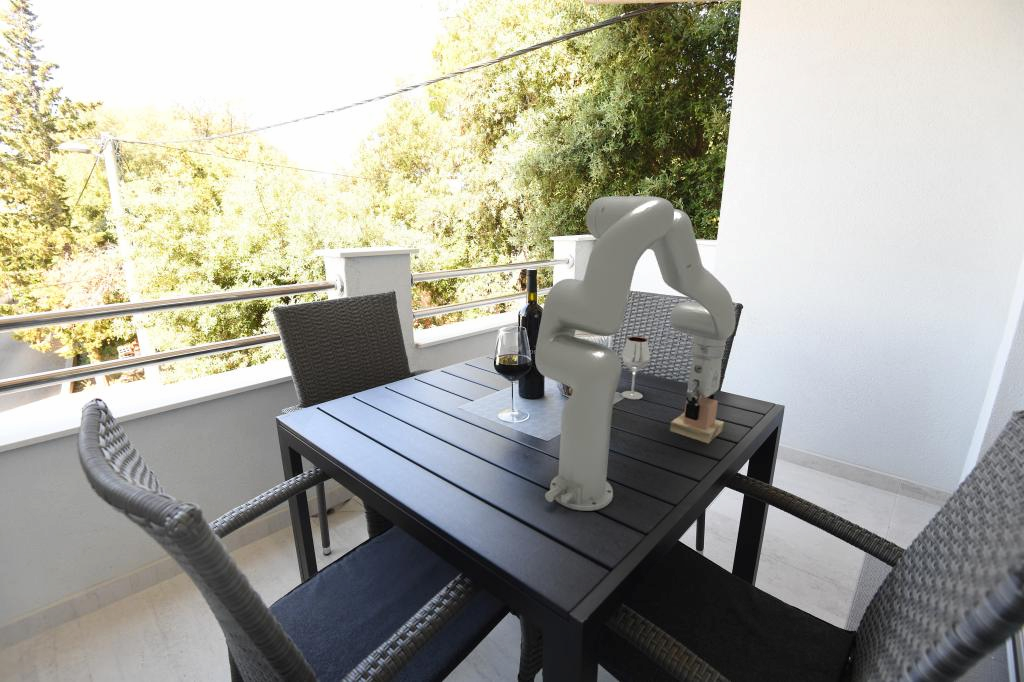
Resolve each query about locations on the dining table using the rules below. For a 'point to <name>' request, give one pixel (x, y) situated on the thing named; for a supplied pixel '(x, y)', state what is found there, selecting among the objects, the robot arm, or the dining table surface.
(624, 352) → the wineglass
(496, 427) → the dining table surface
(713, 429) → the oak block
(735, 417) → the dining table surface
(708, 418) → the painted cube
